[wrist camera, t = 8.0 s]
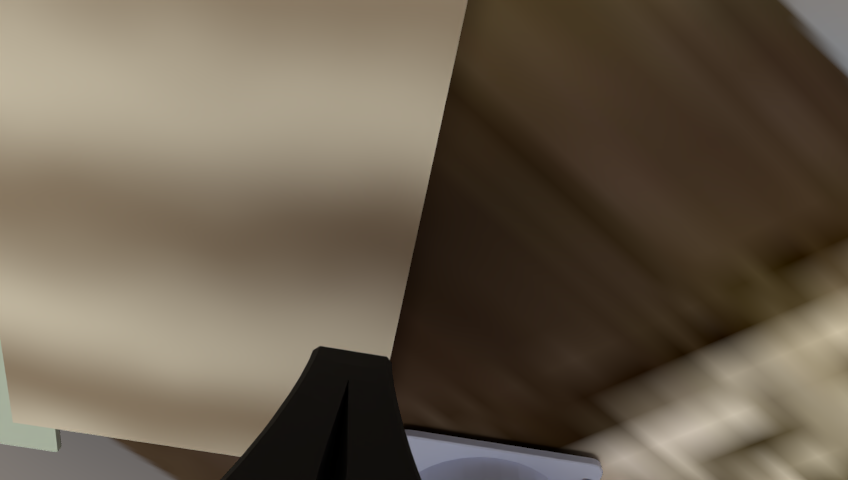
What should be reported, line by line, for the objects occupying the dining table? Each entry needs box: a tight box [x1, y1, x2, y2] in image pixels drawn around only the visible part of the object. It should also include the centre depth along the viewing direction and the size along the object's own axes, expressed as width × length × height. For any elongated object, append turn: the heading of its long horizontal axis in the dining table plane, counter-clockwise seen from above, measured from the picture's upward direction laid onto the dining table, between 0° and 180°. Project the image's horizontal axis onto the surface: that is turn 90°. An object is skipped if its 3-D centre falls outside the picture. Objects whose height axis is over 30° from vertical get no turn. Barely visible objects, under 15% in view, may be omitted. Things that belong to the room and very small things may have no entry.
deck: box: [0, 0, 468, 457], centre depth 20 cm, size 16×11×4 cm
